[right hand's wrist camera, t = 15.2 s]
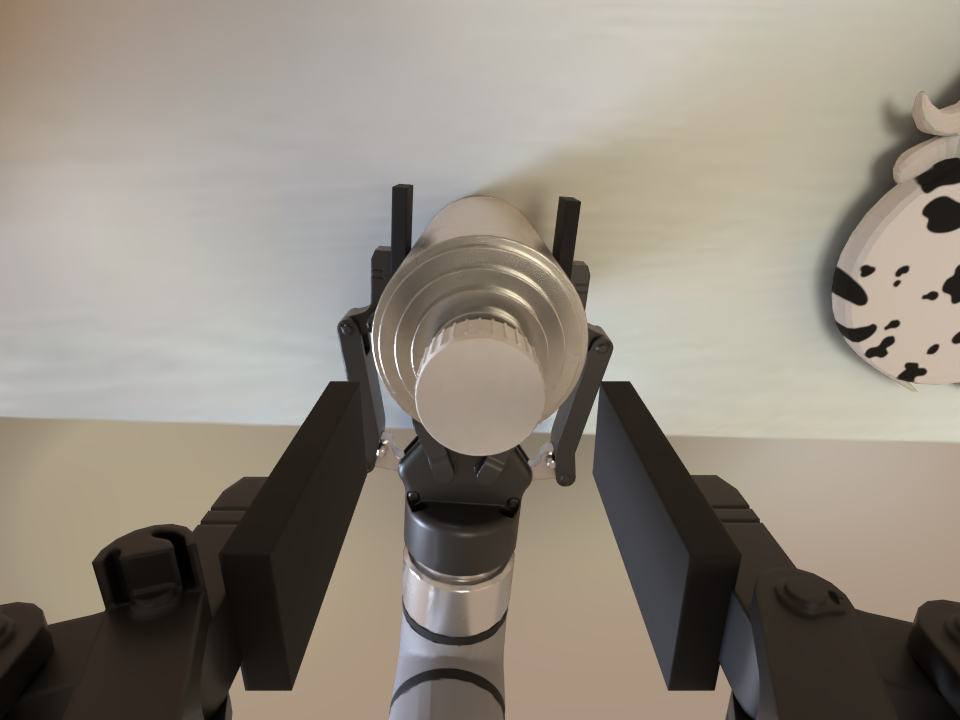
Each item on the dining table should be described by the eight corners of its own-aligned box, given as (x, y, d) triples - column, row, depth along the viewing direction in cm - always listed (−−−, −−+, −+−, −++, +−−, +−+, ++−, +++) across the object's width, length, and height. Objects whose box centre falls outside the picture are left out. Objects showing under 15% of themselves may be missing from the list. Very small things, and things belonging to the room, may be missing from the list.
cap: (475, 291, 17) (474, 307, 15) (565, 370, 18) (574, 394, 16) (395, 378, 18) (385, 404, 16) (484, 449, 19) (485, 480, 17)
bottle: (475, 168, 36) (468, 194, 15) (565, 253, 38) (672, 384, 17) (394, 263, 38) (289, 403, 17) (484, 339, 40) (489, 550, 19)
